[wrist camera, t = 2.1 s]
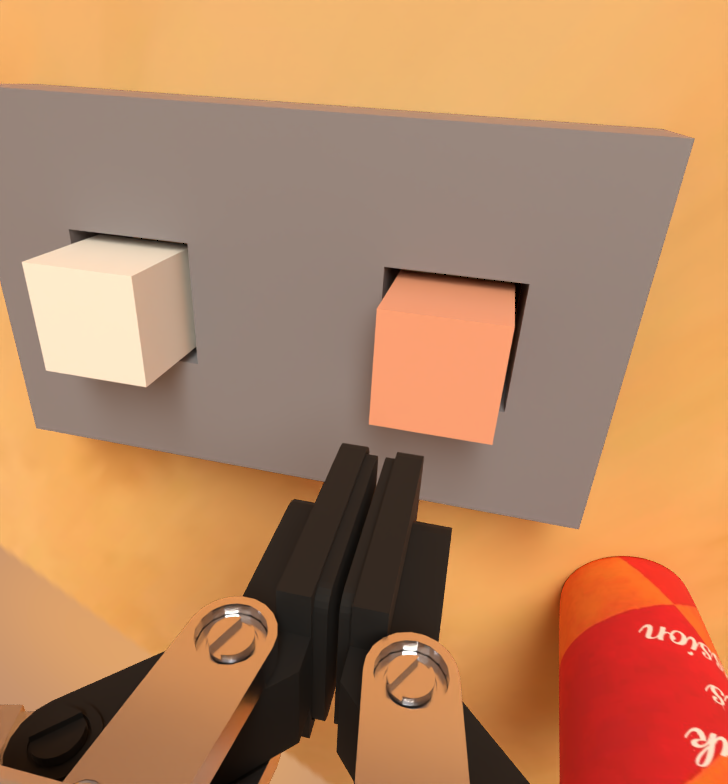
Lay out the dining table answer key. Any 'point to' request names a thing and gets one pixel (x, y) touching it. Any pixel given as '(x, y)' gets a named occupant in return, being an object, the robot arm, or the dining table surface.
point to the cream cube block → (113, 308)
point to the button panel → (344, 272)
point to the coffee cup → (638, 680)
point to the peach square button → (442, 355)
